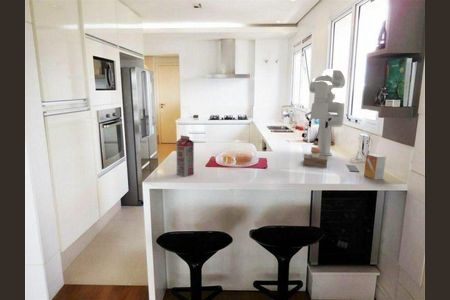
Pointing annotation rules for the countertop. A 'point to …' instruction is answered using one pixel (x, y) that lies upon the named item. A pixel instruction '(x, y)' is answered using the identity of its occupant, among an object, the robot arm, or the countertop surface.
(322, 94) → the robot arm
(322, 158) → the socket block
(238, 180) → the countertop surface
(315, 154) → the plug
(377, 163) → the small box
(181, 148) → the juice carton
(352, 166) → the mat
